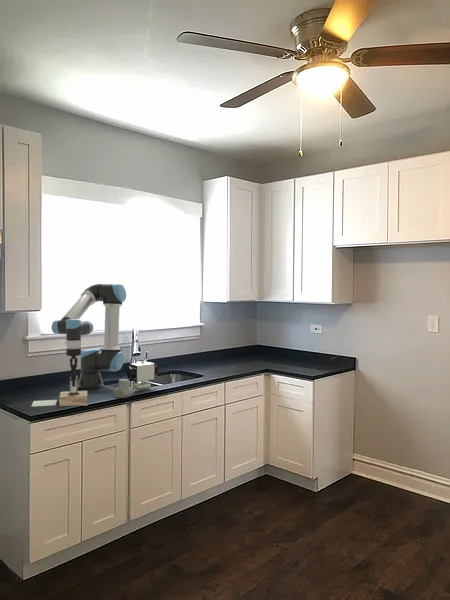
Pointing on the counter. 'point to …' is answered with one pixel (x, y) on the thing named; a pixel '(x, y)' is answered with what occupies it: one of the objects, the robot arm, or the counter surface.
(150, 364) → the white boxy device
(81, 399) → the block
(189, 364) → the counter surface
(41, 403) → the mat
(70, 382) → the pin
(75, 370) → the robot arm
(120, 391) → the air freshener
